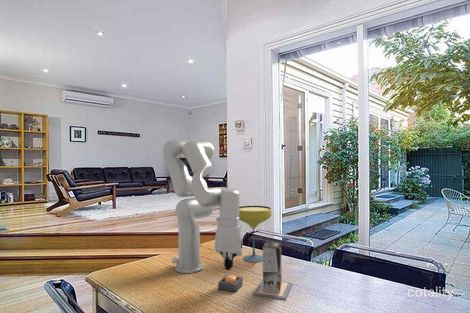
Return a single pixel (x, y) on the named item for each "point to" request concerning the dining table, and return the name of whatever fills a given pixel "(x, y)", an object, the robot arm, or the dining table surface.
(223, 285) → the button housing
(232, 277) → the button
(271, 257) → the coffee box
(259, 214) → the cocktail glass
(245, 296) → the dining table surface
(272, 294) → the picture board
